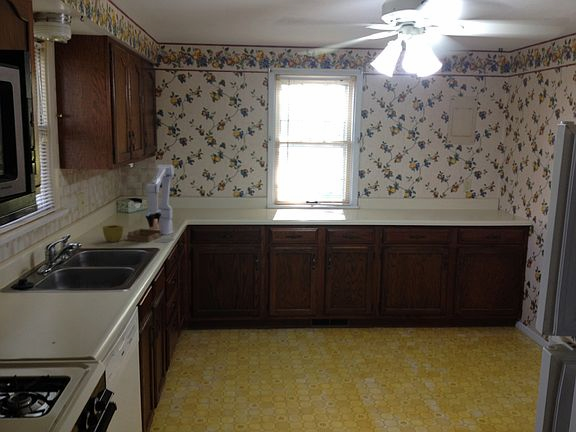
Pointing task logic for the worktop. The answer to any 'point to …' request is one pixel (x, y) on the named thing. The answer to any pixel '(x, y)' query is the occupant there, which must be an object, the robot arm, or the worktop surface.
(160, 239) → the rubber mat
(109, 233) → the flower pot
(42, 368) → the worktop surface
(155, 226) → the seedling pot
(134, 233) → the wooden square frame
